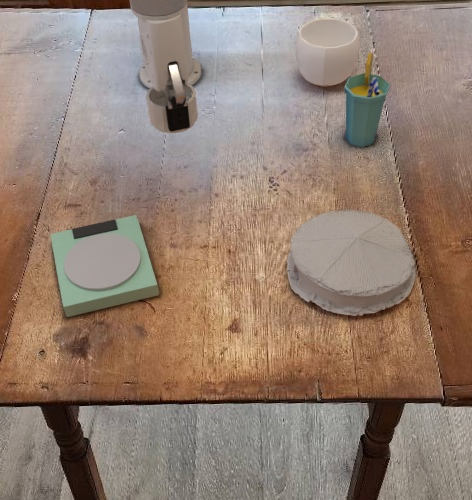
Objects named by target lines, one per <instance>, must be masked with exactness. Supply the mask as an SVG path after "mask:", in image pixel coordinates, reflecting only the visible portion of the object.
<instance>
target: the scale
mask: <svg viewBox="0 0 472 500" xmlns="http://www.w3.org/2000/svg"><path fill="white" fill-rule="evenodd" d="M139 221H140V220H139V218H138V215H137V214H134V215H129V216H125V217H121V218H115V219H111V220H105V221H102V222H96V223H91V224H88V225H83V226H79V227H74V228H70V229H66V230H61V231H57V232H53V233H50V240H51V241H50V242H51V247H52V252H53V258H54V263H55V269H56V275H57V280H58V287H59V290H60V291H59V292H60V298H61V303H62V308H63V312H64V313H65V316H66V317H67V318H69V317H74V316H78V315H82V314H86V313H90V312H91V313H92V312H95V311H99V310H103V309H109V308H111V307H116V306H120V305H124V304H128V303H133V302H136V301H140V300H144V299H149V298H153V297H158V296H160V290H159V285H158V282H157V279H156V275H155V272H154V267H153V265H152V262H151V258H150V255H149V251H148V249H147V246H146V245H147V244H146V241H145V238H144V235H143V232H142V228H141V225H140V222H139Z"/></svg>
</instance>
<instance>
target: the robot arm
mask: <svg viewBox="0 0 472 500" xmlns="http://www.w3.org/2000/svg"><path fill="white" fill-rule="evenodd" d="M129 5H130V6H129V7H130V12H131V13H132V15H134V16H136V17H137V25H138V34H139V43H140V50H141V51H140V52H141V59H142V63H143V64H142V65H141V66H140V67H139V71H138V74H139V81H140V82H141V83H142V84H143V86H145V87H147V88H149V89H150V88H151V87H152V86H153V87H154V89H155V90H156V91H158V92H160V91H161V90H164V92H165V97H166V102H167V106H165V108H166V115H167V123H168V129H169V131H170V132H172V131H177V130H182V129H186V128H189V127H190V121H189V111H188V103H187V99H186V94H185V89H184V86H186V85H187V84H190V85H191V86H193V85H195V84H196V83H197V82H198V81H199V80H200V78H201V75H202V67H201V64H200V62H199V61H198V60H197V59H196V58H194V57H193V50H192V40H191V30H190V29H191V28H190V19H189V18H190V17H189V7H188V0H129ZM170 80H171V83H172V85H168V86H167V81H170ZM172 89H173V91H174V96H172V98H170V93H169V90H172ZM189 129H190V128H189Z"/></svg>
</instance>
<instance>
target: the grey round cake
mask: <svg viewBox="0 0 472 500" xmlns="http://www.w3.org/2000/svg"><path fill="white" fill-rule="evenodd" d="M289 243H290V250H289V253H288V257H287V260H286V261H287V262H286V266H287V267H286V269H287V270H286V272H287V278H288V279H287V280H288V282H289V285H290V288H291V290H292V291H293V292H294V293H295V294H298V296H299V297H300V298H301V299H303V300H304V301H305V302H307V303H310V302H311V303H314V304H315V305H317V307H320V308H321V309H322V310H326V311H327V312H331V313H334V314H339V315H345V316H353V317H356V316H359V317H361V316H364V314H375V313H377V312H380V311H382V310H386V308H387V309H389V308H392V307H393V306H395V305H399V304H400V303H401V302H403V301H404V300H405V299H406V298H407V297H408V296H410V293H411V291H412V290H413V287H414V284H415V280H416V275H417V273H416V270H417V267H416V260H415V259H414V255H413V252H412V250H411V247H410V245H409V242H408V240H407V239H406V237H405V236H404V233H403V232H402V230H401V229H400V228H399V227H398V226H397V225H395V224H394V222H392V221H390V220H388V218H385V217H383V216H381V215H379V214H376V213H374V212H371V211H370V212H369V211H365V210H364V209H359V208H358V209H357V210H355V209H353V208H350V207H349V208H348V207H346V209H342V210H339V209H337V210H335V208H334V209H333V211H332V210H330V209H329V210H327V211H326V212H320V213H317V214H314V216H313V217H311V218H310V219H309V220H306V221H304V222H303V223H302V224H301V225H300V226H299V227H298V228H297V229H296V230H295V232H294V233H293V235H292V237H291V240H289Z"/></svg>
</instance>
